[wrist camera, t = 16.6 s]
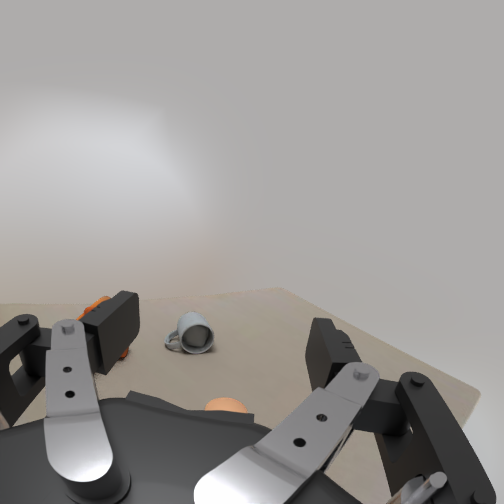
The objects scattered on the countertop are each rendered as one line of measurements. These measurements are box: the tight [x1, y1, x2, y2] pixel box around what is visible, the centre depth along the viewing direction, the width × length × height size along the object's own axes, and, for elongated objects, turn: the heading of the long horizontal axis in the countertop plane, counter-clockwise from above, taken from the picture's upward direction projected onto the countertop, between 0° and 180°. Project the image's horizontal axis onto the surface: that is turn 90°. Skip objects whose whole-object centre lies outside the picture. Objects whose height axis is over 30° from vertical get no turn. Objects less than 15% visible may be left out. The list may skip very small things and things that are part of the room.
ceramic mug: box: [164, 312, 214, 354], centre depth 60 cm, size 11×8×8 cm
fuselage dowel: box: [205, 398, 247, 413], centre depth 28 cm, size 5×5×12 cm
